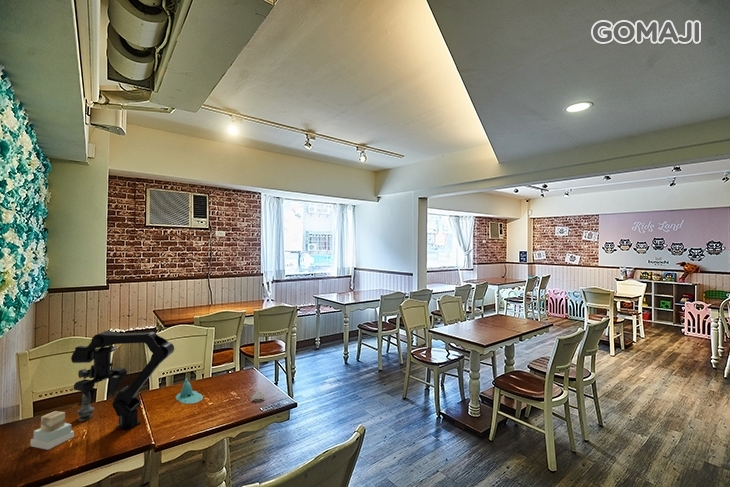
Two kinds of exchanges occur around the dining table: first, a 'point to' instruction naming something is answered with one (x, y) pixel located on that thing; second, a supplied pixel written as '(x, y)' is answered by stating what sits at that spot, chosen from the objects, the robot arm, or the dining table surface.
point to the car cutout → (258, 396)
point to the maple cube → (52, 421)
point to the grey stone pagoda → (85, 410)
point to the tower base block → (52, 443)
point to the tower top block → (52, 433)
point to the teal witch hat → (188, 394)
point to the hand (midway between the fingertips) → (101, 398)
